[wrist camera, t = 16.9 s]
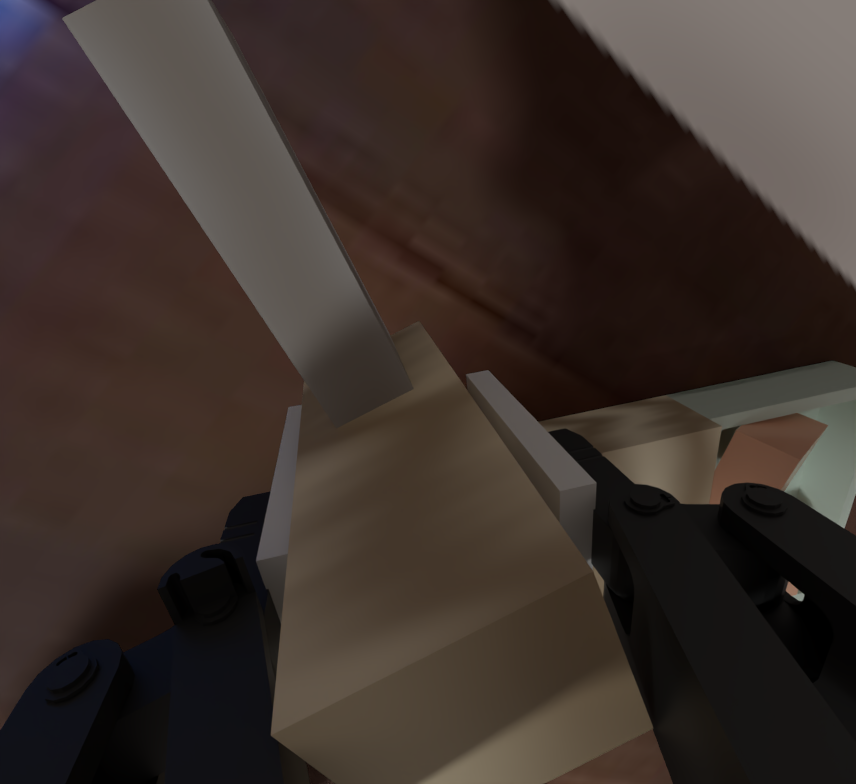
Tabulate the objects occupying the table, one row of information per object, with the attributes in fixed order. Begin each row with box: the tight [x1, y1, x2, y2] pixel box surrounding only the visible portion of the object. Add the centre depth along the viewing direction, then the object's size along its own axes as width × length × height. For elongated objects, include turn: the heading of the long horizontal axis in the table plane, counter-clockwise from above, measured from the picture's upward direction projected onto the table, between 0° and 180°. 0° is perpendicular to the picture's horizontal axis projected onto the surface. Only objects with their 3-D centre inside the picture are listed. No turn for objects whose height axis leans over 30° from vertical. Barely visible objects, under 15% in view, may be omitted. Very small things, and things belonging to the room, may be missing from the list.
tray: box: [666, 360, 856, 601], centre depth 35 cm, size 14×20×4 cm
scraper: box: [62, 0, 653, 784], centre depth 10 cm, size 4×20×10 cm, turn 25°
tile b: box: [709, 413, 828, 504], centre depth 30 cm, size 6×6×4 cm
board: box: [539, 395, 722, 627], centre depth 32 cm, size 16×20×5 cm
